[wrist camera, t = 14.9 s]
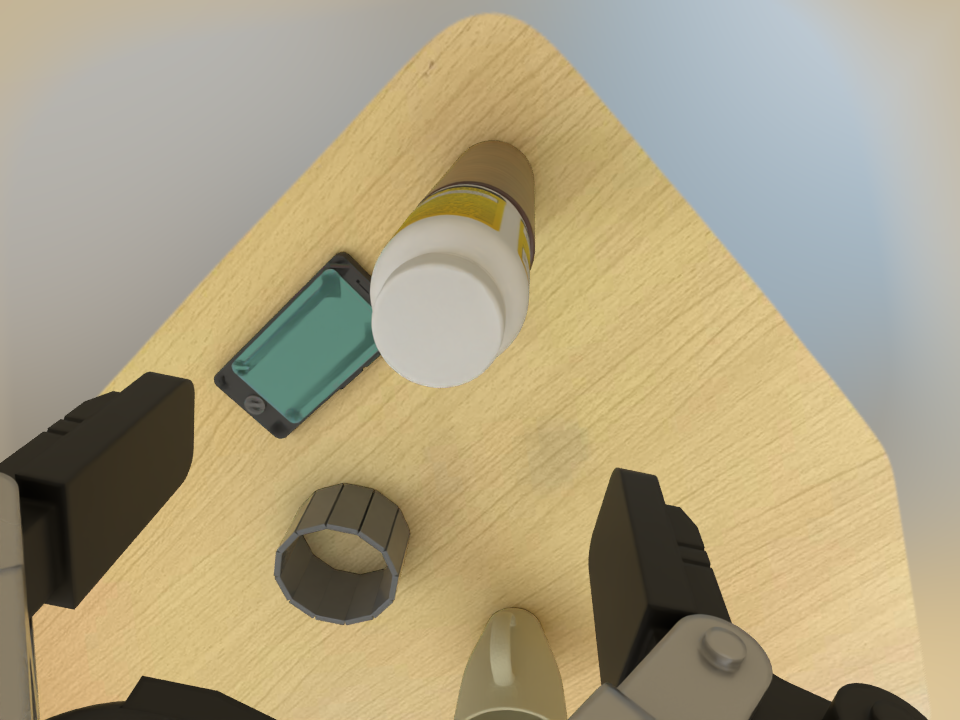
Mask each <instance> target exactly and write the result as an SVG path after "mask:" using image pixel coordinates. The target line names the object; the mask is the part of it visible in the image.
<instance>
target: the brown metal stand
mask: <svg viewBox="0 0 960 720" xmlns="http://www.w3.org/2000/svg"><path fill="white" fill-rule="evenodd" d="M462 184H469V185H477V186H482V187H485V188H488V189H491V190H493V191H495V192H497V193H499V194H500V195H502V196H503V197H504V198H506V199H507V200H508V201H509V202H510V203H511V204H512V205H513V206H514V207H515V208H516V209H517V211H518V212H519V214H520V215H521V217H522V219H523V221H524V223H525V225H526V228H527V231H528V235H529V240H530V270H531V267H532V264H533V261H534V254H535V188H534V174H533V170H532V168H531V165H530V163H529V161H528V160H527V158H526V157H525V156H524V155H523V153H522V152H521V151H519V150H518V149H517V148H515V147H514V146H512V145H510V144H508V143H505V142H501V141H484V142H480V143H478V144H475V145H473V146H472V147H470V148H469V149H467V150H466V151H465V152H464V153H463V154H462V155H461V156H460V157H459V158H458V160H457V161H456V162H455V163H454V164H453V165H452V167H451V168H450V169H449V170H448V171H447V172H446V174H445V175H444V176H443V177H442V178H441V179H440V180H439V182H438V183H437V184H436V185H435V186H434V187H433V189H432V190H431V191H430V192H429V193H428V194H427V196H426V197H425V198H424V199H423V200H425V199H426V198H427V197H429V196H430V195H432V194H433V193H435V192H437V191H439V190H441V189H443V188H446V187H449V186H454V185H462ZM423 200H422V201H423ZM422 201H421V202H422ZM421 202H420V203H421Z"/></svg>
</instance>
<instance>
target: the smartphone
mask: <svg viewBox="0 0 960 720" xmlns="http://www.w3.org/2000/svg"><path fill="white" fill-rule="evenodd" d="M370 284H371V276H370V275H369V274H368V273H367V272H366V271H365V270H364V269H363V268H362V267H361V266H360V265H359V264H358V263H357V262H356V261H355V260H354V259H353V258H352V257H351V256H350V255H349V254H347V253H345V252H340V253H337V254H336V255H335V256H334V257H333V258H332V259H331V260H330V261H329V262H328V263H327V264H326V265H325V266H324V267H323V268H322V269H321V270H320V271H319V272H318V273H317V274H316V275H315V276H314V277H313V278H312V279H311V280H310V281H309V282H308V283H307V284H306V285H305V286H304V287H303V288H302V289H301V290H300V291H299V292H298V293H297V294H296V295H295V296H294V297H293V298H292V299H291V300H290V301H289V302H288V303H287V304H286V305H285V306H284V307H283V308H282V309H281V310H280V311H279V312H278V313H277V314H276V315H275V316H274V317H273V318H272V319H271V320H270V321H269V322H268V323H267V324H266V325H265V326H264V327H263V328H262V329H261V330H260V331H259V332H258V333H257V334H256V335H255V336H254V337H253V338H252V339H251V340H250V341H249V342H248V343H247V344H246V345H245V346H244V347H243V348H242V349H241V350H240V351H239V352H238V353H237V354H236V355H235V356H234V357H233V358H232V359H231V360H230V361H229V362H228V363H227V364H226V365H225V366H224V367H223V368H222V369H221V370H220V371H219V372H218V373H217V374H216V375H215V377H214V382H215V384H216V386H218V387H219V388H220V389H221V390H222V391H223V392H224V393H226V394H227V395H228V396H229V397H230V398H231V399H232V400H234V401H235V402H236V403H237V404H238V405H239V406H240V407H242V408H243V409H244V410H245V411H246V412H247V413H248V414H250V415H251V416H252V417H253V418H254V419H255V420H256V421H258V422H259V423H260V424H261V425H262V426H263V427H264V428H266V429H267V430H268V431H269V432H270V433H271V434H272V435H274V436H275V437H277V438H281V439H282V438H286V437H287V436H288V435H289V434H290V433H291V432H292V431H293V430H294V429H296V428H297V427H298V426H299V425H300V424H301V423H302V422H303V421H304V420H305V419H307V418H308V417H309V416H310V415H311V414H312V413H313V412H314V411H315V410H317V409H318V408H319V407H320V406H321V405H322V404H323V403H324V402H325V401H327V400H328V399H329V398H330V397H331V396H332V395H333V394H334V393H335V392H337V391H338V390H339V389H343V388H344V387H345V386H346V385H348V384H349V383H350V382H351V381H352V380H353V379H354V378H355V377H356V376H358V375H359V374H360V373H361V372H362V371H363V367H368V366H369V365H370V364H371V363H372V362H373V361H374V360H375V359H376V358H378V357H379V356H380V352H379V350H378V348H377V346H376V343H375V341H374V337H373V333H372V306H371V299H370Z"/></svg>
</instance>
